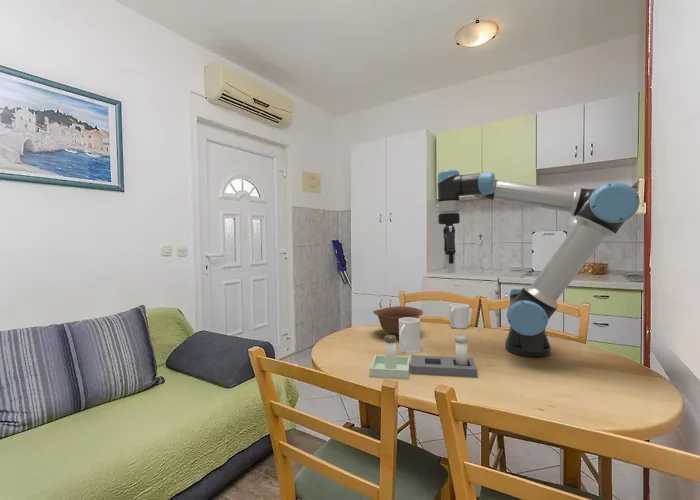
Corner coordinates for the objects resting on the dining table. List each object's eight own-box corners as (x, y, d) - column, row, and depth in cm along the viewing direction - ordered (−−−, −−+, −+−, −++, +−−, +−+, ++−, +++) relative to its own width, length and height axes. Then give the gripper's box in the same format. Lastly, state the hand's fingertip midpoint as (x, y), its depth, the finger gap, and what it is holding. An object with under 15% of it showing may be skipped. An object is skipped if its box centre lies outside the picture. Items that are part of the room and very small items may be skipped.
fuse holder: (472, 366, 115) (472, 332, 114) (477, 379, 105) (476, 342, 104) (411, 363, 119) (411, 330, 118) (410, 375, 109) (410, 339, 108)
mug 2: (456, 323, 169) (456, 302, 169) (473, 326, 162) (472, 305, 162) (443, 327, 162) (442, 306, 162) (460, 331, 155) (459, 308, 155)
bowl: (366, 331, 160) (365, 308, 159) (409, 326, 166) (408, 304, 166) (385, 345, 139) (384, 318, 138) (433, 339, 145) (432, 313, 145)
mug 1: (408, 358, 124) (407, 325, 123) (389, 353, 129) (388, 322, 129) (425, 349, 132) (424, 319, 132) (406, 345, 138) (406, 316, 138)
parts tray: (410, 365, 117) (409, 356, 117) (408, 380, 105) (408, 370, 105) (375, 363, 119) (374, 355, 119) (369, 378, 108) (369, 368, 108)
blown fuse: (397, 367, 114) (396, 335, 113) (396, 372, 110) (395, 338, 110) (385, 367, 115) (385, 334, 114) (384, 371, 111) (383, 338, 110)
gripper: (437, 215, 139) (437, 267, 140) (439, 211, 115) (440, 274, 116) (456, 214, 138) (457, 267, 138) (463, 210, 113) (464, 274, 114)
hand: (449, 270), depth 127 cm, fingers open, 13 cm apart
